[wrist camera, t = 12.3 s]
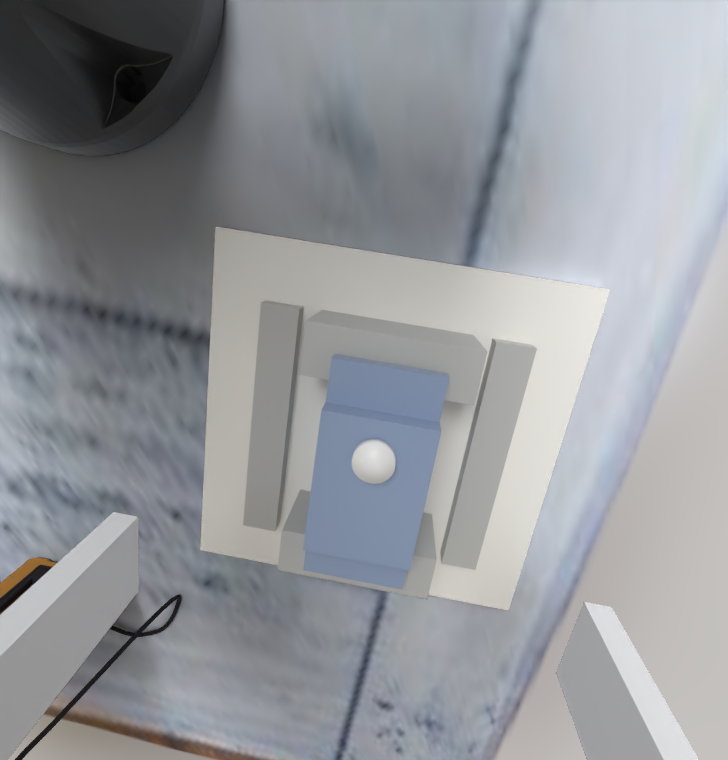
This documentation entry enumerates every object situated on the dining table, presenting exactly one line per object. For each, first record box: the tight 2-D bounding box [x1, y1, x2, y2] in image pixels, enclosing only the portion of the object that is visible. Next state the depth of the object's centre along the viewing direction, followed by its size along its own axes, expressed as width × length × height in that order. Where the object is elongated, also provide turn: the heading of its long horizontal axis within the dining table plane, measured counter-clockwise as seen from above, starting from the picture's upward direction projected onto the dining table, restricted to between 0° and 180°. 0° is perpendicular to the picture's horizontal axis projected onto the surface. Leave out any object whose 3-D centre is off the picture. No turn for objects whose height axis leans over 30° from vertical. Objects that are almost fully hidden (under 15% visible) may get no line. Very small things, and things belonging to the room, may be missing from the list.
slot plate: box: [200, 227, 610, 611], centre depth 23 cm, size 20×20×5 cm
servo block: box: [303, 354, 449, 590], centre depth 21 cm, size 5×11×7 cm, turn 171°
